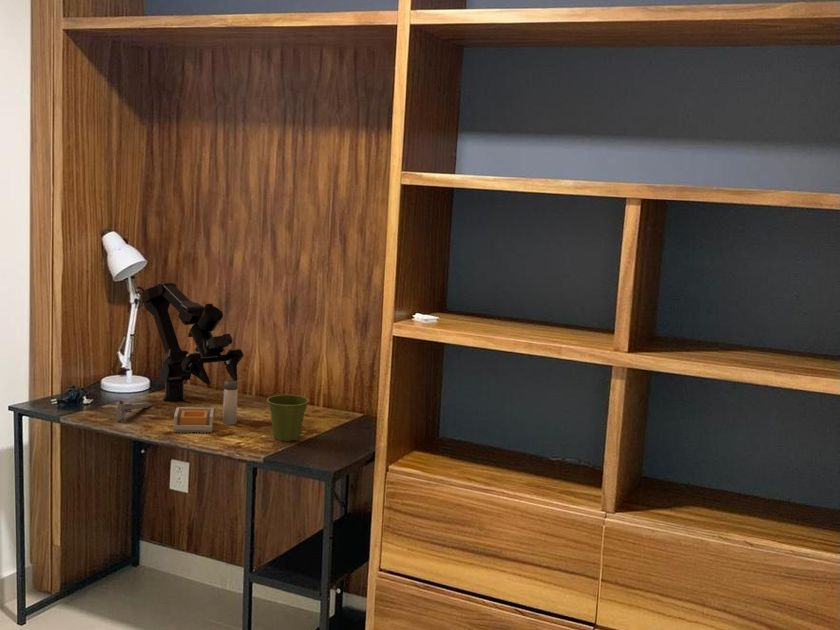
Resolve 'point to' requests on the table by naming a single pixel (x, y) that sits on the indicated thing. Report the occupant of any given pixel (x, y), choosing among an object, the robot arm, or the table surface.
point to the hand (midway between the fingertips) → (222, 382)
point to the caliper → (128, 408)
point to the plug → (230, 402)
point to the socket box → (193, 420)
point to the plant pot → (287, 415)
